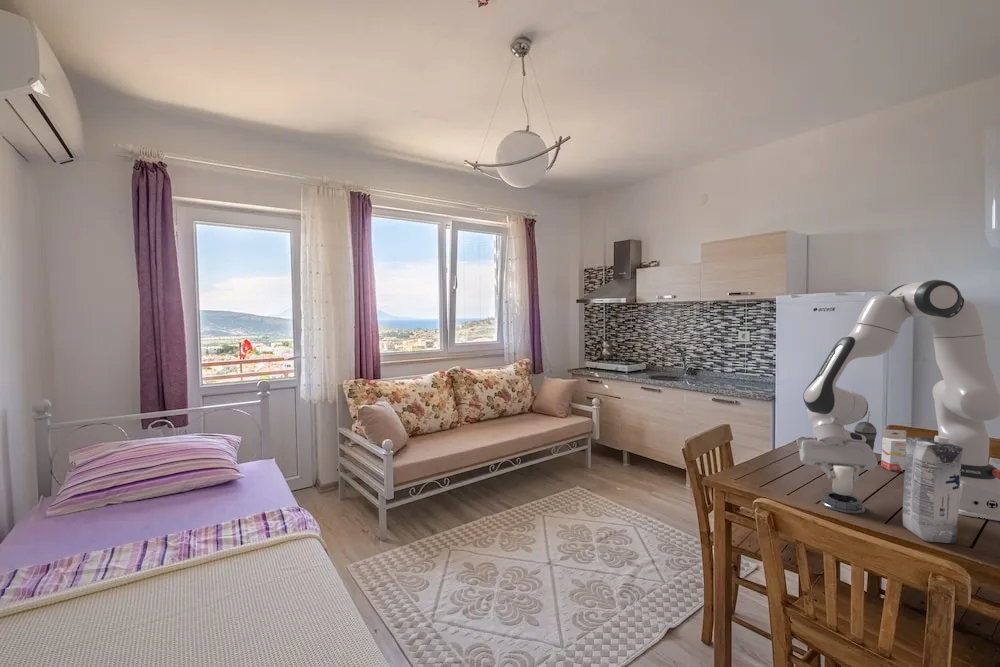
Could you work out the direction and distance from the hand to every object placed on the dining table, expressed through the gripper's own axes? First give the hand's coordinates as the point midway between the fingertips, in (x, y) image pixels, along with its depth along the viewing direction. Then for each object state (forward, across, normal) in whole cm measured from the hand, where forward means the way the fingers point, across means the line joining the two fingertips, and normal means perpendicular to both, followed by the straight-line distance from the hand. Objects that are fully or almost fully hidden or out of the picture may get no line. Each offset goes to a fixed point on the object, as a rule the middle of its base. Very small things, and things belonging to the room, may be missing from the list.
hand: (843, 479), depth 140 cm
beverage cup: (-31, +29, +44) cm, 61 cm away
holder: (+6, 0, +6) cm, 9 cm away
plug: (+3, 0, +4) cm, 4 cm away
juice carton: (+17, +14, -4) cm, 22 cm away
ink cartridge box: (-25, +36, +37) cm, 57 cm away
